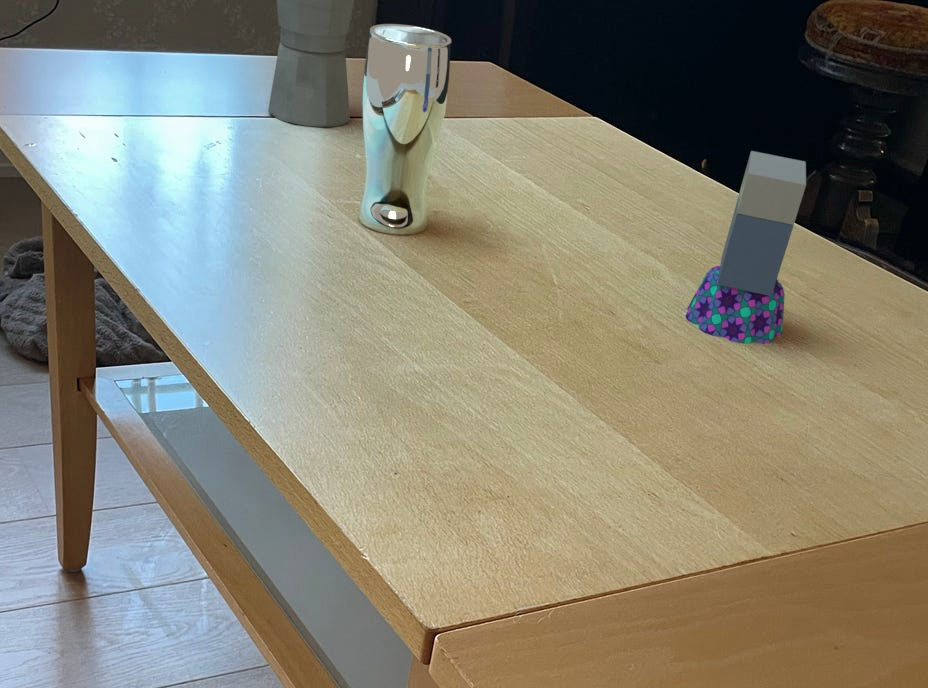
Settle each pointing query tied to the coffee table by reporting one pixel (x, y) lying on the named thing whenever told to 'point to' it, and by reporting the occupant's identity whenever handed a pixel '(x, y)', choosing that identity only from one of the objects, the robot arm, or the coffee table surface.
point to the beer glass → (401, 123)
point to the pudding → (736, 311)
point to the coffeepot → (312, 63)
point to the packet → (762, 223)
